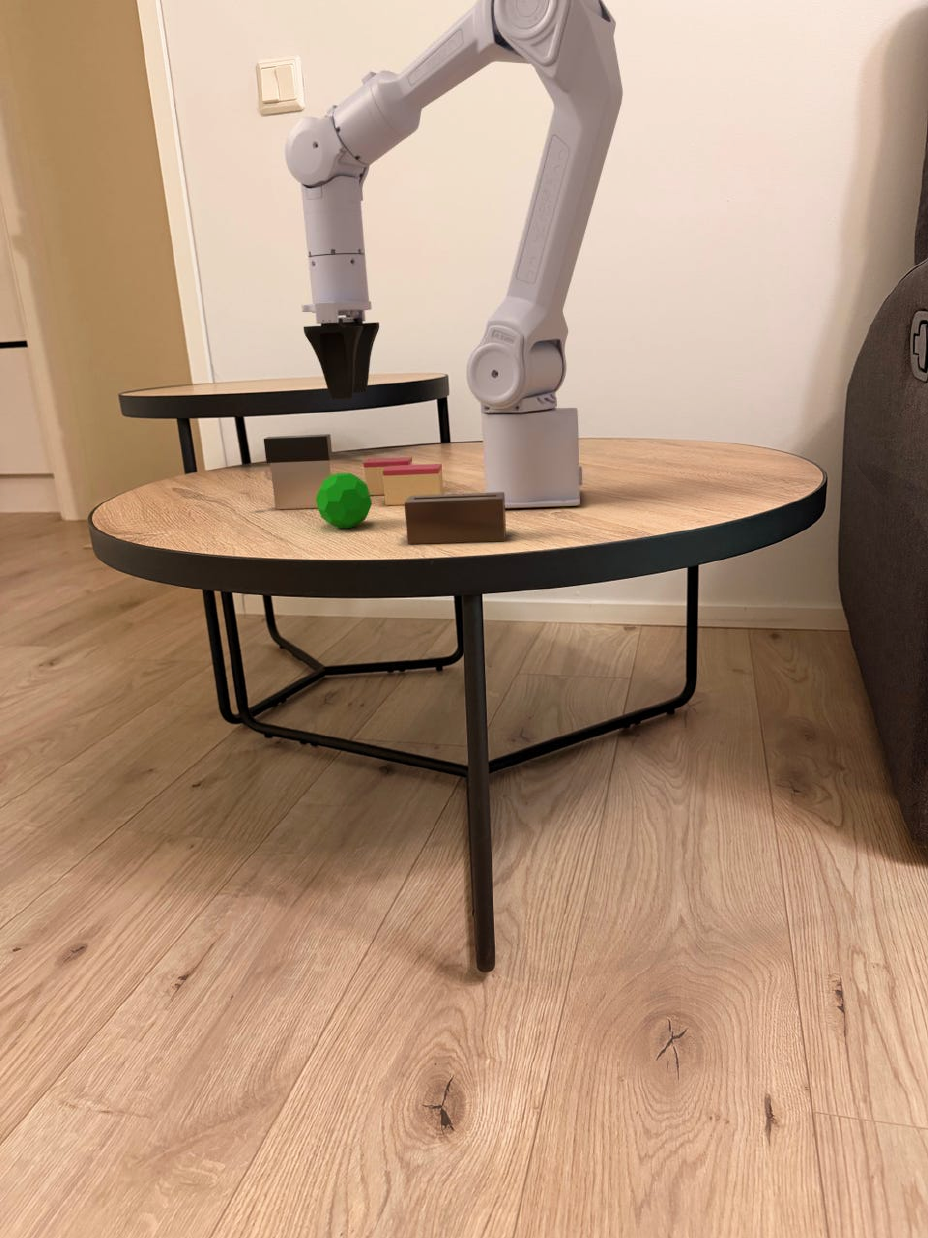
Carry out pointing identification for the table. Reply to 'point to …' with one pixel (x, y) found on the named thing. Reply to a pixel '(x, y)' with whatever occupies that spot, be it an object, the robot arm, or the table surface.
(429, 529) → the knife block
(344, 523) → the polyhedron
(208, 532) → the table surface
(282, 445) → the beige and brown block
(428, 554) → the table surface
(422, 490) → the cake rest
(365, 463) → the cake slice
